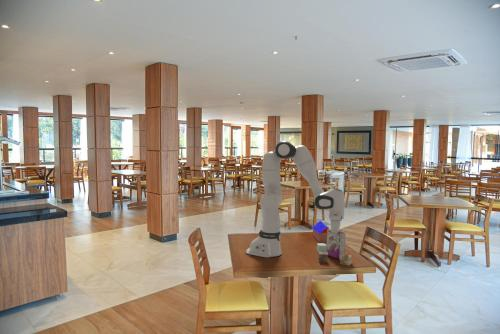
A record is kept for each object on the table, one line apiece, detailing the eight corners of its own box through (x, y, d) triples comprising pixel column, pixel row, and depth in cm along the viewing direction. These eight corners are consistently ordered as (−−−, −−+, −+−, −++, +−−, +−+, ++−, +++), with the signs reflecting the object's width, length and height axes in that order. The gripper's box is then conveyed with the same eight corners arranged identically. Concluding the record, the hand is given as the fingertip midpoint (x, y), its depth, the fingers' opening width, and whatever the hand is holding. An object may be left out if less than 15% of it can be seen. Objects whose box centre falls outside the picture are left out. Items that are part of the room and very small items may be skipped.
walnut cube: (318, 262, 200) (319, 254, 200) (318, 259, 205) (318, 251, 205) (327, 263, 199) (327, 254, 199) (327, 260, 204) (327, 252, 204)
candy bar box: (325, 254, 214) (326, 228, 213) (331, 253, 217) (332, 228, 216) (339, 260, 205) (339, 232, 204) (344, 258, 207) (345, 232, 206)
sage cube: (319, 253, 218) (319, 245, 217) (316, 250, 223) (317, 243, 222) (326, 253, 218) (326, 245, 218) (324, 250, 223) (324, 243, 223)
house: (318, 243, 241) (319, 226, 240) (312, 235, 261) (312, 220, 260) (335, 243, 242) (336, 226, 241) (327, 235, 262) (328, 220, 261)
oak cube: (340, 264, 197) (340, 255, 197) (342, 262, 202) (343, 253, 201) (348, 266, 195) (348, 257, 194) (351, 263, 199) (351, 255, 199)
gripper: (332, 211, 220) (332, 232, 221) (329, 217, 201) (328, 240, 202) (342, 212, 218) (342, 233, 219) (340, 218, 199) (339, 242, 199)
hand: (335, 237), depth 210 cm, fingers closed on candy bar box, 8 cm apart
